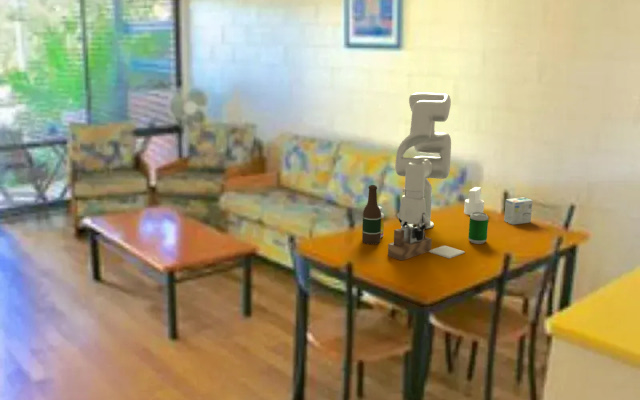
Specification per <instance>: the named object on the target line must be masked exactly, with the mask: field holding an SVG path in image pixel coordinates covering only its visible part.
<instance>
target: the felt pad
mask: <svg viewBox="0 0 640 400" xmlns="http://www.w3.org/2000/svg"><path fill="white" fill-rule="evenodd" d="M428 253H431V254H433V255H437V256H440V257H444V258H445V259H446V258H447V259H452V258H455V257H457V256H460V255H462V254H465V253H466V252H465V251H464V250H460V249H457V248H455V247H451V246H448V245H440V246H439V247H438V246H437V247H436V248H433V249H432V248H431V250H429V251H428Z"/></svg>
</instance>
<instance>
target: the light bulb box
mask: <svg viewBox="0 0 640 400" xmlns="http://www.w3.org/2000/svg"><path fill="white" fill-rule="evenodd" d="M504 207H505V209H504V217H503V222H505V223H507V222H508V223H507V224H509V225H521V224H528V223H529V224H530V223H531V222H532V212H533V200H532V199H530V198H527V197H524V196H523V197H514V198H507V199H505V205H504Z"/></svg>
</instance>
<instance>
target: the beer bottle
mask: <svg viewBox="0 0 640 400" xmlns="http://www.w3.org/2000/svg"><path fill="white" fill-rule="evenodd" d="M377 194H378V186H377V185H375V184H370V185H368V196H367V197H368V198H367V203H366V205H365V207H364V208H363V211H362V231H361V233H362V234H361V239H362V243H364V244H366V245H377V244H380V243H381V238H380V235H381V212H382V211H381V212H380V209H379V207H378V206H379V205H378V197H377V196H378V195H377Z"/></svg>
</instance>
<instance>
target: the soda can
mask: <svg viewBox="0 0 640 400" xmlns="http://www.w3.org/2000/svg"><path fill="white" fill-rule="evenodd" d="M488 228H489V216H488V215H487V213H485V212H483V213H481V212H475V213H472V214H471V215H469V223H468V240H469V241H470V243H472V244H475V245H476V244H477V245H483V244H485V242H487V240H488Z"/></svg>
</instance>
